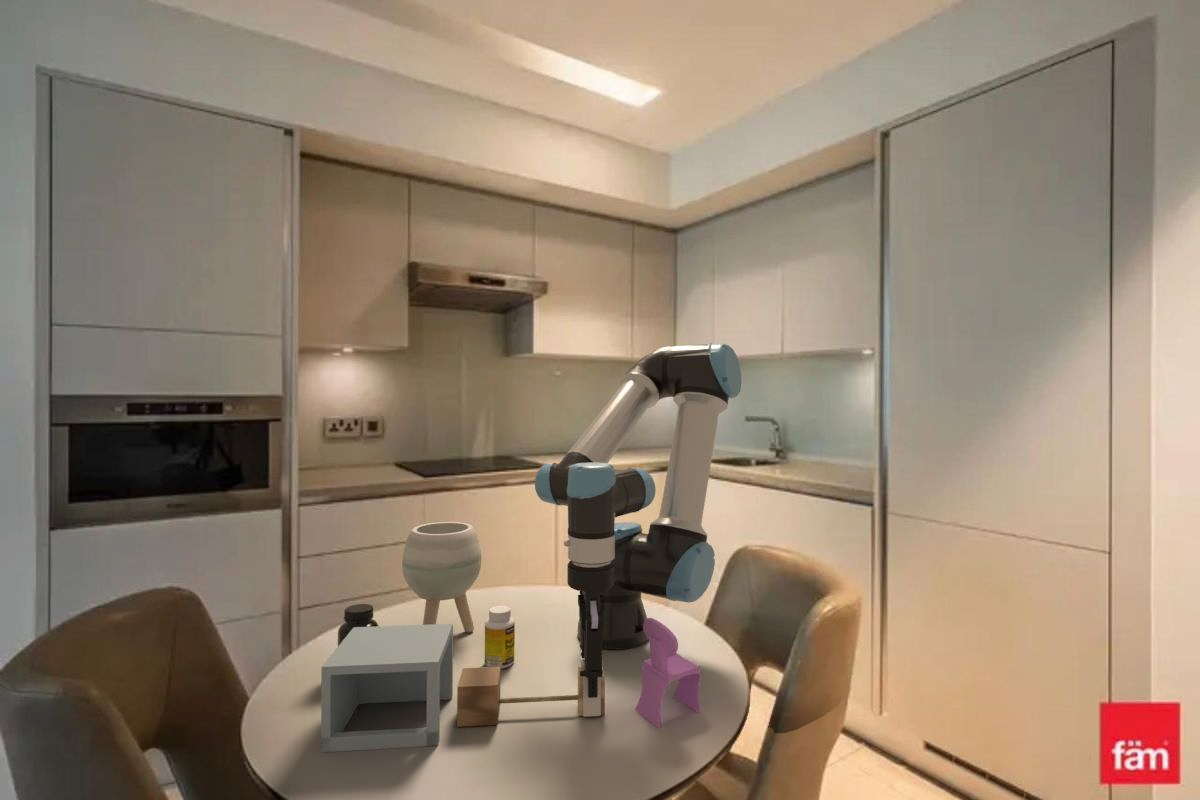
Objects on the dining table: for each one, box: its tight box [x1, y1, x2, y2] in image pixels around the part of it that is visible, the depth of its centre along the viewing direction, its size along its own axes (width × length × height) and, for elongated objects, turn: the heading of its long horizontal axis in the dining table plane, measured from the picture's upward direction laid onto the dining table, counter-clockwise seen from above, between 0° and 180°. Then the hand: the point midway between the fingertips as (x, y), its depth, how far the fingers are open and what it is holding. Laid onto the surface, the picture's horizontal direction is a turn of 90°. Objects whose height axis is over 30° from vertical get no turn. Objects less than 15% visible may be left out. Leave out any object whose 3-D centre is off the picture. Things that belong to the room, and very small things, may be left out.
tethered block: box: [456, 665, 606, 728], centre depth 90 cm, size 22×6×6 cm, turn 96°
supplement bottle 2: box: [484, 605, 516, 669], centre depth 108 cm, size 6×6×10 cm
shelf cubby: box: [320, 623, 454, 753], centre depth 88 cm, size 16×14×12 cm
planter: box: [401, 521, 482, 633], centre depth 121 cm, size 16×16×22 cm
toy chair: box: [634, 617, 702, 729], centre depth 92 cm, size 8×9×15 cm
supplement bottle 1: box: [336, 603, 379, 648], centre depth 103 cm, size 7×7×12 cm
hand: (590, 707), depth 91 cm, fingers closed on tethered block, 3 cm apart
